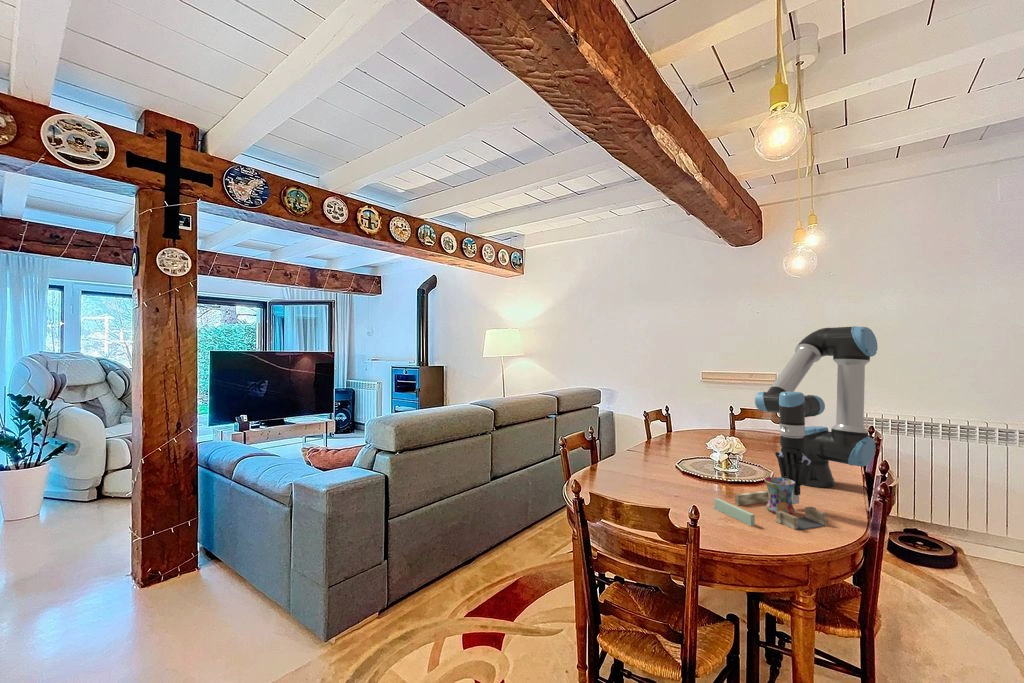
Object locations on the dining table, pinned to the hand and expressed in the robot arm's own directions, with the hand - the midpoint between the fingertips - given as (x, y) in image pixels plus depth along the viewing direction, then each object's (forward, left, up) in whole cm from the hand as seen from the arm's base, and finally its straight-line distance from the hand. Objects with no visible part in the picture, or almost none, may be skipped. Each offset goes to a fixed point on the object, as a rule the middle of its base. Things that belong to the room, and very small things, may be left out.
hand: (794, 503), depth 155 cm
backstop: (+26, 0, -2) cm, 26 cm away
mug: (+6, 0, -2) cm, 6 cm away
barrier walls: (+9, +2, -2) cm, 9 cm away
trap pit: (+9, +11, -2) cm, 15 cm away
